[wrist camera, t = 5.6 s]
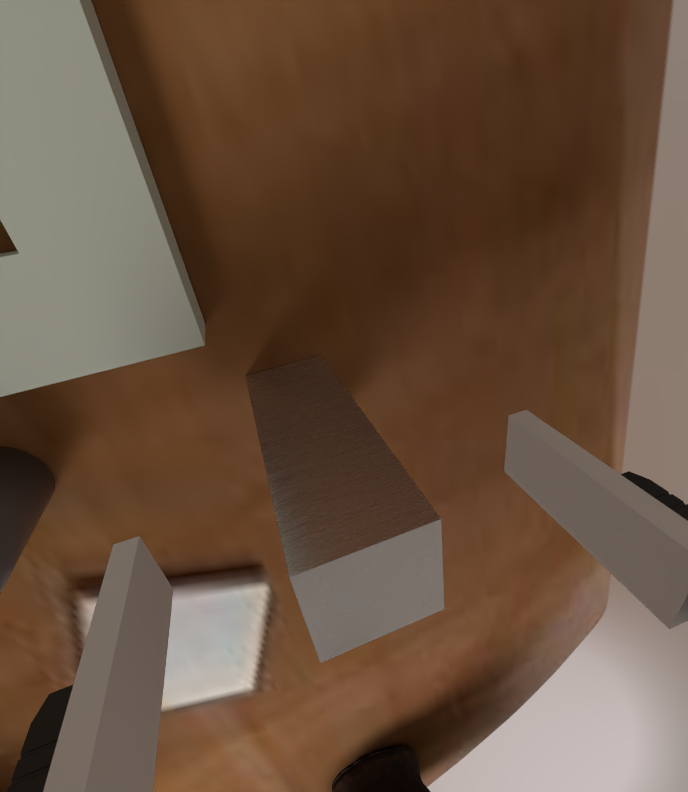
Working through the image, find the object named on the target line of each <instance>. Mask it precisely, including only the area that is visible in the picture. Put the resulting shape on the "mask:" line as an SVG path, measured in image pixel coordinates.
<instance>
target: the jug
mask: <svg viewBox="0 0 688 792" xmlns="http://www.w3.org/2000/svg"><path fill="white" fill-rule="evenodd" d="M332 792H430V791H429V789H428V788H427V787H426V786H425V785H424V784H423V782H422V780H421V777H420V773H419V759H418V757H417V754H416V752H415V751H414V750H413V749H412V748H409V747H396V748H392V749H387V750H383V751H379V752H375V753H373V754H371V755H368V756H367V757H365V758H363V759H361V760H359V761H357V762H355V763H354V764H353V766H351V767H349V768H347V769H345V770H344V771H342V772H341V774H340V775H339V776H338V777H337V778H336V780H335V781H334V783H333V786H332Z"/></svg>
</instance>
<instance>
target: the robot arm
mask: <svg viewBox="0 0 688 792" xmlns="http://www.w3.org/2000/svg"><path fill="white" fill-rule="evenodd" d="M504 472H505V473H506V474H507V475H508V476H509V477H511V478H512V479H513V480H514V481H515V482H516V483H517V484H518V485H519V486H520V487H521V488H522V489H523V490H524V491H525V492H526V493H527V494H528V495H529V496H530V497H531V498H533V499H534V500H535V501H536V502H537V503H538V504H539V505H540V506H541V507H542V508H543V509H544V510H545V511H546V512H547V513H548V514H549V515H550V516H551V517H552V518H553V519H555V520H556V521H557V522H558V523H559V524H560V525H561V526H562V527H563V528H564V529H565V530H566V531H567V532H568V533H569V534H570V535H571V536H572V537H573V538H574V539H575V540H577V541H578V542H579V543H580V544H581V545H582V546H583V547H584V548H585V549H586V550H587V551H588V552H589V553H590V554H591V555H592V556H593V557H594V558H595V559H596V560H598V561H599V562H600V563H601V564H602V565H603V566H604V567H605V568H606V569H607V570H608V571H609V572H610V573H611V574H612V575H613V576H614V577H615V578H616V579H617V580H618V581H620V582H621V583H622V584H623V585H624V586H625V587H626V588H627V589H628V590H629V591H630V592H631V593H632V594H633V595H634V596H635V597H636V598H637V599H638V600H639V601H640V602H642V603H643V604H644V605H645V606H646V607H647V608H648V609H649V610H650V611H651V612H652V613H653V614H654V615H655V616H656V617H657V618H658V619H659V620H661V621H662V622H663V623H664V624H665V625H666V626H667V627H668V628H669V629H671V628H673V627H675V626H677V625H679V624H681V623H683V622H686V621H688V504H687V505H685V504H684V503H683V501H681V500H680V499H679V498H677V497H675V496H674V495H673V494H671V495H670V494H669V493H668V491H666V490H665V489H663V488H662V487H660V486H659V485H657V484H656V483H654V482H653V481H651V480H649V479H647V478H644V477H642V476H639V475H637V474H634V473H631V472H626V473H623V474H621V475H620V474H619V473H618V472H616V471H615V470H613V469H612V468H610V467H609V466H607V465H606V464H605V463H603V462H602V461H600V460H599V459H597V458H596V457H594V456H593V455H591V454H590V453H589V452H587V451H586V450H584V449H583V448H581V447H580V446H578V445H577V444H576V443H574V442H573V441H571V440H570V439H568V438H567V437H565V436H564V435H562V434H561V433H560V432H558V431H557V430H555V429H554V428H552V427H551V426H549V425H548V424H547V423H545V422H544V421H542V420H541V419H539V418H538V417H536V416H535V415H533V414H532V413H531V412H529V411H528V410H524V411H521V412H518V413H515V414H512V415H509V419H508V430H507V442H506V454H505V466H504ZM172 596H173V588H172V586H171V585H170V583H169V582H168V580H167V578H166V577H165V575H164V574H163V572H162V571H161V569H160V567H159V566H158V564H157V563H156V561H155V560H154V558H153V556H152V555H151V553H150V552H149V550H148V549H147V547H146V545H145V544H144V542H143V541H142V539H141V538H140V536H138V537H135V538H132V539H129V540H125V541H122V542H119V543H116V544H113V547H112V551H111V554H110V558H109V561H108V565H107V568H106V572H105V575H104V579H103V582H102V586H101V589H100V593H99V596H98V600H97V604H96V607H95V611H94V614H93V618H92V621H91V625H90V628H89V632H88V635H87V639H86V642H85V646H84V649H83V653H82V656H81V660H80V663H79V667H78V670H77V674H76V678H75V681H74V685H71V686H69V687H66V688H64V689H61V690H58V691H56V692H53V693H51V694H49V696H48V697H47V699H46V700H45V702H44V704H43V705H42V707H41V708H40V710H39V712H38V713H37V715H36V716H35V718H34V720H33V721H32V723H31V725H30V728H29V731H28V734H27V737H26V740H25V743H24V745H23V748H22V751H21V754H20V755H21V759H20V760H19V761H18V763H17V766H16V769H15V772H14V775H13V777H12V785H11V787H9V789H8V792H153V785H154V775H155V765H156V755H157V745H158V736H159V726H160V716H161V706H162V696H163V686H164V676H165V666H166V656H167V646H168V636H169V626H170V616H171V606H172Z"/></svg>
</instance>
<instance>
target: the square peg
mask: <svg viewBox="0 0 688 792" xmlns="http://www.w3.org/2000/svg"><path fill="white" fill-rule="evenodd" d="M246 381H247V385H248V390H249V395H250V399H251V404H252V408H253V413H254V418H255V422H256V427H257V431H258V436H259V440H260V445H261V450H262V454H263V459H264V463H265V468H266V473H267V477H268V482H269V486H270V491H271V496H272V500H273V505H274V509H275V514H276V519H277V523H278V528H279V532H280V537H281V542H282V546H283V551H284V555H285V560H286V564H287V569H288V574H289V578H290V581H291V583H292V586H293V589H294V592H295V594H296V597H297V600H298V603H299V605H300V608H301V611H302V614H303V616H304V619H305V622H306V625H307V627H308V630H309V633H310V636H311V638H312V641H313V644H314V647H315V649H316V652H317V655H318V658H319V660H320V663H322V662H324V661H326V660H329V659H331V658H333V657H336V656H338V655H340V654H342V653H345V652H347V651H349V650H352V649H354V648H356V647H358V646H361V645H363V644H365V643H368V642H370V641H372V640H374V639H377V638H379V637H381V636H384V635H386V634H388V633H390V632H393V631H395V630H397V629H400V628H402V627H404V626H406V625H409V624H411V623H413V622H416V621H418V620H420V619H422V618H425V617H427V616H429V615H432V614H434V613H436V612H438V611H441V610H443V609H444V586H443V558H442V529H441V518H440V517H439V515H438V514H437V513H436V511H435V510H434V509H433V507H432V506H431V504H430V503H429V502H428V500H427V499H426V498H425V496H424V495H423V493H422V492H421V491H420V489H419V488H418V487H417V485H416V484H415V483H414V481H413V480H412V478H411V477H410V476H409V474H408V473H407V472H406V470H405V469H404V467H403V466H402V465H401V463H400V462H399V461H398V459H397V458H396V457H395V455H394V454H393V452H392V451H391V450H390V448H389V447H388V446H387V444H386V443H385V441H384V440H383V439H382V437H381V436H380V435H379V433H378V432H377V431H376V429H375V428H374V426H373V425H372V424H371V422H370V421H369V420H368V418H367V417H366V415H365V414H364V413H363V411H362V410H361V409H360V407H359V406H358V405H357V403H356V402H355V400H354V399H353V398H352V396H351V395H350V394H349V392H348V391H347V389H346V388H345V387H344V385H343V384H342V383H341V381H340V380H339V379H338V377H337V376H336V374H335V373H334V372H333V370H332V369H331V368H330V366H329V365H328V363H327V362H326V361H325V359H324V358H323V357H322V355H319V356H316V357H312V358H308V359H305V360H301V361H297V362H294V363H290V364H286V365H283V366H279V367H275V368H272V369H268V370H264V371H261V372H257V373H253V374H250V375H246Z"/></svg>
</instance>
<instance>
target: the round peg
mask: <svg viewBox="0 0 688 792" xmlns="http://www.w3.org/2000/svg"><path fill="white" fill-rule="evenodd" d="M54 487H55V482H54V477H53V474H52V472H51V471H50V469H49V468H48V467H47V465H46V464H44V463H43V462H42V461H41V460H40V459H38V458H37V457H35V456H33V455H31V454H29V453H27V452H24V451H21V450H18V449H14V448H8V447H0V593H1V591H2V589H3V588H4V586H5V584H6V582H7V580H8V578H9V576H10V574H11V572H12V570H13V568H14V566H15V565H16V563H17V561H18V559H19V557H20V555H21V553H22V551H23V549H24V547H25V545H26V544H27V542H28V540H29V538H30V536H31V534H32V532H33V530H34V528H35V526H36V524H37V522H38V521H39V519H40V517H41V515H42V513H43V511H44V509H45V507H46V505H47V503H48V501H49V499H50V498H51V496H52V494H53V491H54Z"/></svg>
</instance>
